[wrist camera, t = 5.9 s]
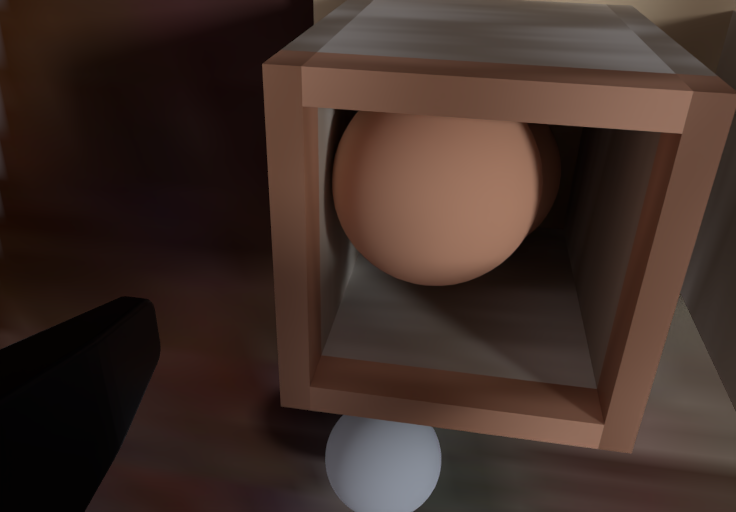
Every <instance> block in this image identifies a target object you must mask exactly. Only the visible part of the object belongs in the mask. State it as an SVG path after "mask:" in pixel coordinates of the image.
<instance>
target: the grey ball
mask: <svg viewBox="0 0 736 512" xmlns="http://www.w3.org/2000/svg"><path fill="white" fill-rule="evenodd" d="M325 463H326V471H327V475H328V478H329V481H330V484H331V486H332V488H333V490H334V491H335V493H336V494H337V496H338V497H339V498H340V500H341V501H342V502H343V503H344V504H345V505H346V506H348V507H349V508H350V509H352V510H353V511H355V512H413V511H414V510H416V509H417V508H418V507H419V506H421V505H422V504H423V503H424V502H425V501H426V500H427V498H428V497H429V496H430V494H431V493H432V491H433V490H434V488H435V486H436V483H437V481H438V478H439V474H440V469H441V450H440V444H439V441H438V438H437V435H436V433H435V431H434V429H433V427H431V426H423V425H416V424H408V423H401V422H393V421H386V420H378V419H371V418H363V417H356V416H349V415H343V416H342V417H341V418H340V419H339V420H338V422H337V423H336V424H335V426H334V428H333V429H332V431H331V434H330V436H329V439H328V442H327V447H326V455H325Z"/></svg>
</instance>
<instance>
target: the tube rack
mask: <svg viewBox="0 0 736 512" xmlns="http://www.w3.org/2000/svg"><path fill="white" fill-rule="evenodd" d="M313 3H314V25H313V26H312V27H311V28H309V29H308V30H307V31H305V32H304V33H303V34H301V35H300V36H299V37H297V38H296V39H295V40H293V41H292V42H291V43H289V44H288V45H287V46H285V47H284V48H283V49H281V50H280V51H279V52H277V53H276V54H275V55H273V56H272V57H271V58H269V59H268V60H267V61H265V62H264V63H263V64H262V71H263V89H264V107H265V126H266V144H267V162H268V180H269V199H270V217H271V235H272V254H273V272H274V290H275V308H276V327H277V345H278V363H279V381H280V400H281V406H282V407H289V408H296V409H304V410H311V411H319V412H326V413H334V414H341V415H349V416H356V417H363V418H371V419H378V420H386V421H393V422H401V423H408V424H416V425H423V426H431V427H438V428H445V429H453V430H460V431H468V432H475V433H483V434H490V435H498V436H505V437H512V438H520V439H527V440H535V441H542V442H550V443H557V444H565V445H572V446H580V447H587V448H594V449H602V450H609V451H617V452H624V453H632V450H633V447H634V443H635V440H636V437H637V434H638V430H639V427H640V424H641V420H642V417H643V414H644V410H645V407H646V404H647V401H648V397H649V394H650V391H651V387H652V384H653V381H654V377H655V374H656V371H657V367H658V364H659V361H660V358H661V354H662V351H663V348H664V344H665V341H666V338H667V334H668V331H669V328H670V324H671V321H672V318H673V315H674V311H675V308H676V305H677V301H678V298H679V295H682V297H683V300H684V302H685V304H686V306H687V308H688V310H689V312H690V314H691V317H692V319H693V321H694V323H695V325H696V327H697V329H698V332H699V334H700V336H701V338H702V340H703V342H704V344H705V347H706V349H707V351H708V353H709V355H710V357H711V359H712V361H713V364H714V366H715V368H716V370H717V372H718V374H719V376H720V379H721V381H722V383H723V385H724V387H725V389H726V391H727V394H728V396H729V398H730V400H731V402H732V404H733V406H734V409H735V411H736V0H313ZM359 110H360V111H374V112H387V113H401V114H415V115H429V116H443V117H457V118H471V119H485V120H499V121H512V122H526V123H540V124H547V125H548V126H549V128H550V130H551V132H552V133H553V135H554V138H555V140H556V143H557V146H558V149H559V154H560V160H561V178H560V185H559V190H558V193H557V196H556V199H555V201H554V203H553V206H552V208H551V210H550V211H549V213H548V214H547V216H546V217H545V219H544V220H543V221H542V223H541V224H540V225H539V226H538V227H537V228H536V229H535V230H534V231H533V232H532V233H531V234H529V235H528V236H526V237H525V238H524V240H523V241H522V243H521V244H520V245H519V247H518V248H517V249H516V250H515V251H514V252H513V253H512V254H511V255H510V256H509V257H508V258H507V259H506V260H505V261H504V262H502V263H501V264H500V265H498V266H497V267H495V268H494V269H493V270H491V271H489V272H487V273H485V274H483V275H481V276H480V277H477V278H475V279H472V280H469V281H467V282H463V283H459V284H454V285H445V286H425V285H419V284H413V283H410V282H407V281H404V280H400V279H397V278H395V277H393V276H391V275H389V274H386V273H385V272H383V271H381V270H380V269H378V268H377V267H375V266H374V265H373V264H371V263H370V262H369V261H368V260H367V259H366V258H365V257H364V256H363V255H362V254H361V253H360V252H359V251H358V250H357V249H356V248H355V247H354V245H353V244H352V243H351V241H350V240H349V238H348V237H347V235H346V233H345V232H344V230H343V228H342V226H341V224H340V221H339V218H338V215H337V212H336V209H335V205H334V200H333V193H332V170H333V163H334V158H335V153H336V150H337V147H338V144H339V142H340V140H341V138H342V135H343V133H344V131H345V130H346V128H347V126H348V124H349V123H350V121H351V120H352V119H353V117H354V116H355V114H356V113H357V112H358V111H359Z"/></svg>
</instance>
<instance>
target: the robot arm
mask: <svg viewBox="0 0 736 512" xmlns="http://www.w3.org/2000/svg"><path fill="white" fill-rule="evenodd" d="M159 356H160V339H159V333H158V327H157V321H156V315H155V309H154V306H153V304H152V302H151V301H150V300H148V299H144V298H135V297H127V296H125V297H120V298H118V299H115V300H113V301H111V302H108V303H106V304H104V305H101V306H99V307H97V308H95V309H92V310H90V311H88V312H85V313H83V314H81V315H78V316H76V317H74V318H72V319H69V320H67V321H65V322H62V323H60V324H58V325H55V326H53V327H51V328H49V329H46V330H44V331H42V332H39V333H37V334H35V335H32V336H30V337H28V338H26V339H23V340H21V341H19V342H16V343H14V344H12V345H9V346H7V347H5V348H3V349H0V512H85V510H86V508H87V506H88V505H89V503H90V501H91V499H92V498H93V496H94V494H95V492H96V491H97V489H98V487H99V485H100V484H101V482H102V480H103V478H104V477H105V475H106V473H107V471H108V470H109V468H110V466H111V464H112V462H113V461H114V459H115V457H116V455H117V453H118V451H119V449H120V447H121V445H122V443H123V441H124V439H125V437H126V435H127V432H128V430H129V428H130V425H131V423H132V421H133V418H134V416H135V414H136V411H137V409H138V407H139V404H140V402H141V400H142V397H143V395H144V393H145V391H146V388H147V386H148V384H149V381H150V379H151V377H152V374H153V372H154V370H155V367H156V365H157V363H158V360H159Z"/></svg>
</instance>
